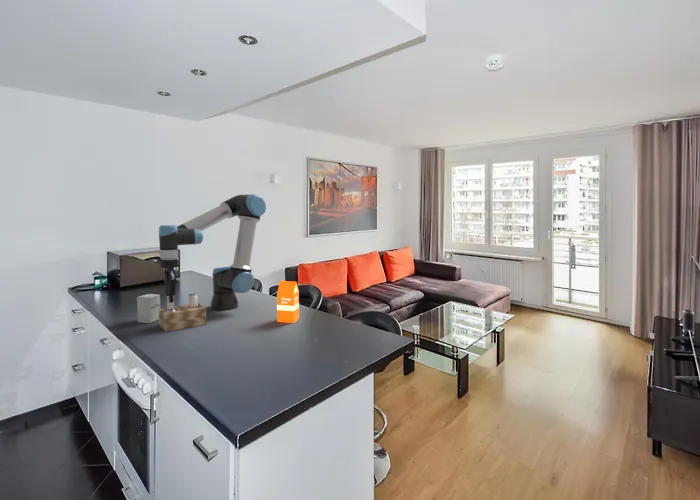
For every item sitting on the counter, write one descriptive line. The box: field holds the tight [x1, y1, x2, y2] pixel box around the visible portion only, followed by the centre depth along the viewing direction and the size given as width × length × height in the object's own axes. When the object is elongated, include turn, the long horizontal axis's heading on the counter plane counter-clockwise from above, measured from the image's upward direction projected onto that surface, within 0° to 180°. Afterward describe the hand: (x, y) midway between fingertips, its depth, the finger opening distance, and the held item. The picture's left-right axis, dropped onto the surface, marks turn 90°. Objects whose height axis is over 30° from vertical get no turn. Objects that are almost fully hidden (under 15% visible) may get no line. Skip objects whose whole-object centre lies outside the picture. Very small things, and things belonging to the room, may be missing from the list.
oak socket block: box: [158, 303, 207, 333], centre depth 174 cm, size 18×12×8 cm, turn 129°
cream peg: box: [188, 292, 199, 309], centre depth 177 cm, size 4×4×8 cm
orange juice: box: [276, 280, 300, 324], centre depth 184 cm, size 8×9×20 cm
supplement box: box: [136, 293, 161, 324], centre depth 180 cm, size 7×7×13 cm
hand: (170, 308), depth 170 cm, fingers closed
